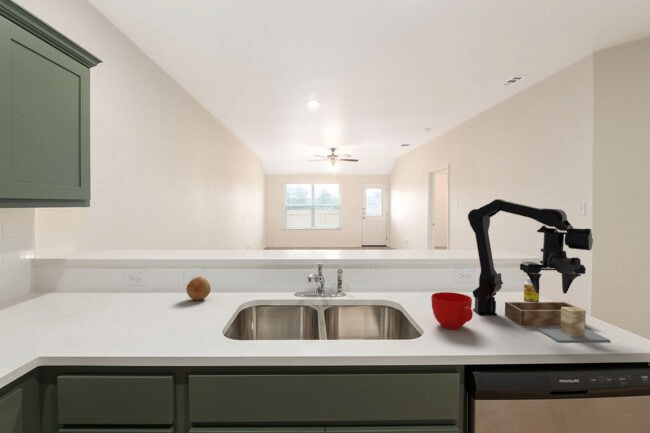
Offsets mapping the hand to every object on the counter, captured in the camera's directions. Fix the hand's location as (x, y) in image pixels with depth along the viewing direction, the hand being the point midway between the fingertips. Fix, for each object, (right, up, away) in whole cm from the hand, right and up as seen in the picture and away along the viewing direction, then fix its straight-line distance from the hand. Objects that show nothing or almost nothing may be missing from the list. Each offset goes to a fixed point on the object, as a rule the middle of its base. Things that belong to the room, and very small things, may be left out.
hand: (550, 293), depth 122 cm
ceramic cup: (-32, -12, 0) cm, 34 cm away
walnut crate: (+2, -11, +7) cm, 14 cm away
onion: (-130, -11, +35) cm, 135 cm away
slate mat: (+2, -12, -8) cm, 14 cm away
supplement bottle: (+11, -10, +31) cm, 34 cm away
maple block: (+2, -11, -7) cm, 14 cm away
